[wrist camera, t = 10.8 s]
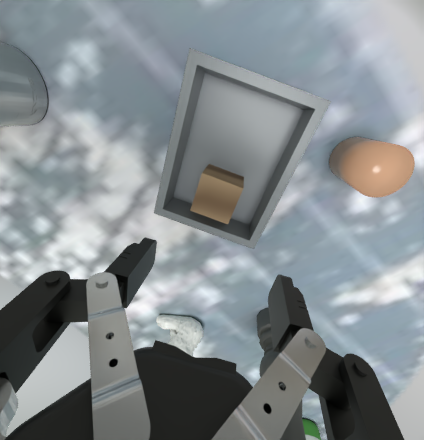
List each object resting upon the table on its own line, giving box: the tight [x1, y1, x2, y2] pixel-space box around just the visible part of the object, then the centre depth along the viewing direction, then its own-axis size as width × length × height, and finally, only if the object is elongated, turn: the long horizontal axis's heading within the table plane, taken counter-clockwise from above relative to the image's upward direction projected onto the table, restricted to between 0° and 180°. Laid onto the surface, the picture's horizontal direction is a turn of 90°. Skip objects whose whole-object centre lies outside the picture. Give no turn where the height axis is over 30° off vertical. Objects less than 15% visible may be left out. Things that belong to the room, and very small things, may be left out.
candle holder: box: [257, 308, 306, 440], centre depth 29 cm, size 6×6×25 cm
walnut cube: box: [190, 164, 244, 224], centre depth 28 cm, size 5×5×5 cm
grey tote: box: [154, 48, 331, 249], centre depth 26 cm, size 14×18×5 cm
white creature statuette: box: [157, 314, 203, 356], centre depth 39 cm, size 10×9×12 cm
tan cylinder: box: [329, 137, 414, 197], centre depth 23 cm, size 5×5×7 cm
